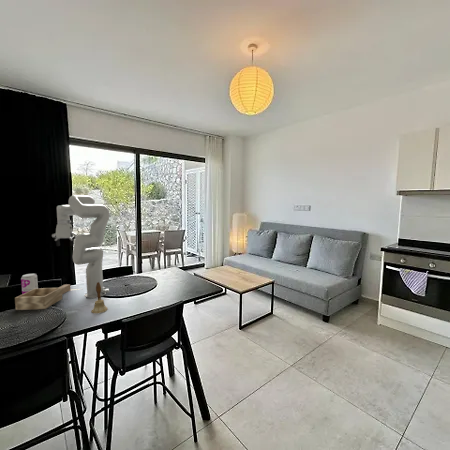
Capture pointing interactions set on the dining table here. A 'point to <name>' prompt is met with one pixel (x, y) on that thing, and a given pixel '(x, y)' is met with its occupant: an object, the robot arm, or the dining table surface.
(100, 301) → the hand bell
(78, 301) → the dining table surface
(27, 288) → the supplement can
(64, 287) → the lid
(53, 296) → the box
